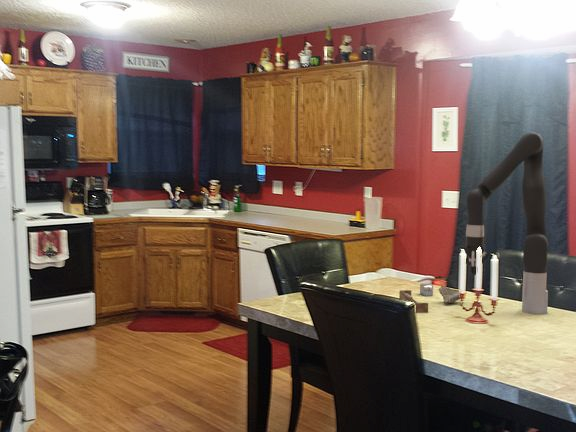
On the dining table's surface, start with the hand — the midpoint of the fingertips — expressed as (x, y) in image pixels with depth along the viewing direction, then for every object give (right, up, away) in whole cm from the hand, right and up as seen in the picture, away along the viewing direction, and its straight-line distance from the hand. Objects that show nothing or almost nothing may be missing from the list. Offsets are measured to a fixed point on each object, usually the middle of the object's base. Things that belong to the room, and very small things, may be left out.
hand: (473, 274), depth 292 cm
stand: (-26, -13, -1) cm, 30 cm away
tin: (-16, -12, +21) cm, 29 cm away
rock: (-7, -13, 0) cm, 14 cm away
